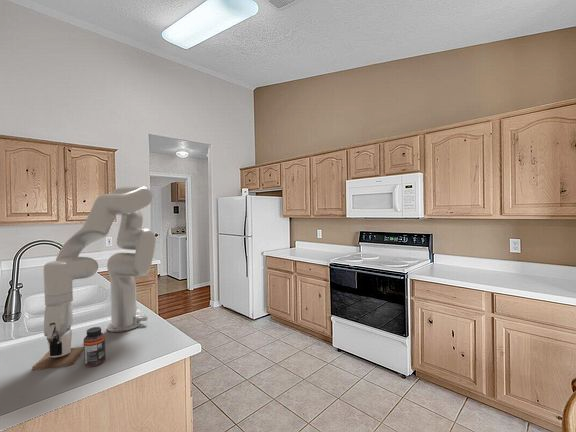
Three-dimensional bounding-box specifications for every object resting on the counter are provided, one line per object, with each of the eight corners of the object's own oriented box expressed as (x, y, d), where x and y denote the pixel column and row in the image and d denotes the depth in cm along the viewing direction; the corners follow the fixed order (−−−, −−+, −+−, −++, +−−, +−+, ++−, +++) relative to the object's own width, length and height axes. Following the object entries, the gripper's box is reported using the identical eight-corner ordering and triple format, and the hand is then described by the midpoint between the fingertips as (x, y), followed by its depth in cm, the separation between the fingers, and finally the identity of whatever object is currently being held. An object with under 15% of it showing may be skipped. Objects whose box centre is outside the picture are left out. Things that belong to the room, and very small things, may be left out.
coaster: (85, 349, 107) (85, 346, 107) (72, 364, 97) (72, 361, 97) (49, 353, 104) (49, 350, 104) (32, 370, 94) (32, 366, 94)
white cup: (77, 348, 104) (77, 328, 104) (63, 358, 97) (62, 337, 97) (57, 348, 104) (56, 328, 104) (42, 358, 97) (41, 337, 97)
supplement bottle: (91, 358, 101) (90, 325, 101) (109, 357, 101) (108, 325, 101) (80, 368, 95) (78, 333, 95) (99, 367, 96) (98, 332, 95)
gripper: (57, 291, 107) (59, 340, 108) (31, 307, 91) (33, 365, 91) (81, 289, 109) (83, 337, 110) (60, 305, 93) (62, 361, 93)
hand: (60, 349), depth 101 cm, fingers closed on white cup, 6 cm apart
